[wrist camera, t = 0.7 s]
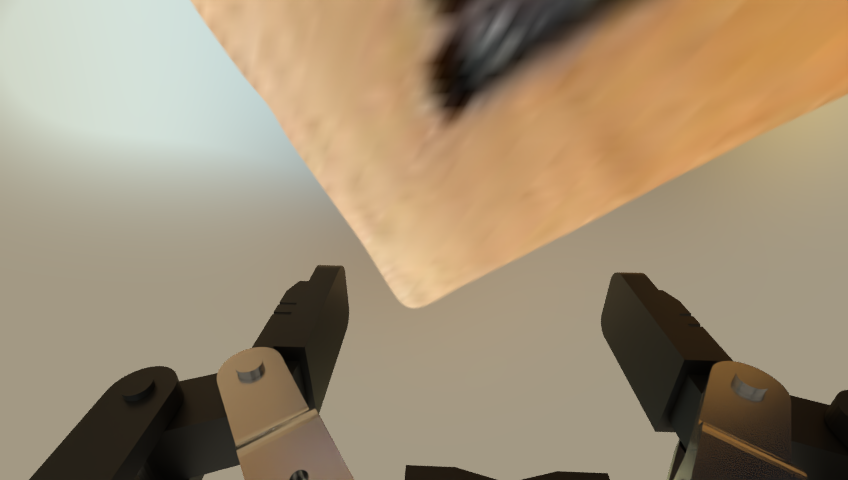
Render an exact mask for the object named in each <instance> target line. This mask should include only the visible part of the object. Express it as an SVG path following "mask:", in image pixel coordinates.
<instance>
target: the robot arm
mask: <svg viewBox="0 0 848 480" xmlns="http://www.w3.org/2000/svg"><path fill="white" fill-rule="evenodd" d="M348 320H349V304H348V295H347V286H346V277H345V270H344V267H343V266H330V265H329V266H328V265H327V266H326V265H318V266H317V267H316V269H315V271H314V273H313V275H312V276H311V278H310V280H309V281H299V282H298V283H297V284H295V285H294V286H292V287H291V288H290V289H289V290H287V291H286V293H285V295H284V296H283V298H282V299H281V301H280V305H278V306H277V308H276V309H275V311H274V314H273V315H272V316H271V317H270V319H269V321H268V322H267V324H266V326H265V327H264V329H263V331H262V332H261V334H260V335H259V337H258V339H257V340H256V342H255V343H254V345H253V347H252V348H250V349H246V350H243V351H241V352H239V353H237V354H235V355H233V356H232V357H230V358H229V359H228V360H227V361H226V362H224V364H223V365H222V366H221V368H220V369H219V371H218V373H216V374H212V375H208V376H203V377H198V378H193V379H189V380H184V381H179V380H178V377H177V375H176V373H175V372H174V371H173V370H172V369H170V368H168V367H164V366H155V367H148V368H144V369H141V370H138V371H135V372H133V373H131V374H129V375H127V376H125V377H124V378H121V379H120V380H119V381H117V382H116V383H114V384H113V385H112V386H111V387H110V388H109V389H108V390H107V391H106V392H105V393H104V394H103V395H102V397H101V398H100V399H99V400H98V401H97V402H96V404H95V405H94V406H93V407H92V408H91V409H90V410H89V412H88V413H87V414H86V415H85V416H84V417H83V419H82V420H81V421H80V422H79V423H78V424H77V425H76V427H75V428H74V429H73V430H72V431H71V432H70V433H69V435H68V436H67V437H66V438H65V439H64V440H63V441H62V443H61V444H60V445H59V446H58V447H57V448H56V450H55V451H54V452H53V453H52V454H51V455H50V456H49V457H48V459H47V460H46V461H45V462H44V463H43V464H42V466H41V467H40V468H39V469H38V470H37V471H36V473H35V474H34V475H33V476H32V477H31V478H30V479H29V480H202V478H203V476H204V474H207V473H211V472H215V471H218V470H222V469H226V468H229V467H233V466H237V465H241V469H242V472H243V476H244V479H245V480H354V479H353V476H352V475H351V473H350V471H349V469H348V467H347V465H346V464H345V462H344V460H343V458H342V456H341V454H340V452H339V451H338V449H337V447H336V445H335V443H334V441H333V439H332V438H331V436H330V434H329V432H328V430H327V428H326V427H325V425H324V423H323V421H322V419H321V417H320V415H319V412H320V409H321V406H322V403H323V400H324V397H325V394H326V391H327V388H328V385H329V382H330V378H331V375H332V372H333V369H334V366H335V363H336V360H337V357H338V354H339V351H340V348H341V345H342V341H343V339H344V336H345V332H346V330H347V326H348ZM601 326H602V332H603V335H604V337H605V339H606V341H607V343H608V344H609V346H610V348H611V350H612V352H613V353H614V356H615V357H616V359H617V361H618V363H619V365H620V367H621V369H622V370H623V372H624V374H625V376H626V378H627V380H628V381H629V383H630V385H631V387H632V389H633V391H634V393H635V394H636V396H637V398H638V400H639V402H640V404H641V406H642V408H643V409H644V411H645V413H646V415H647V417H648V419H649V421H650V422H651V424H652V426H653V428H654V430H655V431H656V432H676V434H677V436H678V437H679V441H678V444H677V446H676V448H675V451H674V455H673V459H672V462H671V465H670V469H669V472H668V476H667V480H848V390H844V391H841V392H839V393H838V394H837V396H836V397H835V399H834V400H833V402H832V403H831V405H827V404H822V403H818V402H815V401H810V400H807V399H802V398H799V397H795V396H791V395H789V393H788V392H787V390H786V389H785V387H784V386H783V385H782V384H781V383H779V382H778V381H777V380H776V379H775V378H773V377H772V376H770V375H769V374H767V373H765V372H764V371H762V370H760V369H758V368H755V367H753V366H750V365H747V364H744V363H740V362H734V361H733V360H732V359H731V358H730V357H729V356H728V355H727V354H726V352H724V350H723V349H722V348H721V347H720V346H719V345H718V344H717V342H716V341H715V340H714V339H713V338H712V337H711V336H710V335H709V333H708V332H707V331H706V330H705V329H704V328H703V327H700V324H699V322H698V321H697V320H696V319H695V318H694V317H693V316H691V313H690V312H689V311H688V310H687V309H686V308H685V307H684V306H683V305H682V303H681V302H680V301H678V300H677V299H675V298H674V297H672V296H671V295H669V294H668V293H666V292H664V291H663V290H658V289H657V288H656V287H655V285H654V284H653V283H652V282H651V281H650V279H649V278H648V277H647V276H646V275H645V274H643V273H614V274H613V276H612V278H611V281H610V285H609V289H608V292H607V296H606V300H605V304H604V308H603V312H602V316H601ZM405 480H496V479H493V478H489V477H486V476H482V475H479V474H476V473H472V472H469V471H466V470H462V469H459V468H456V467H435V466H411V465H406V471H405ZM523 480H610V479H609V476H608V474H607V473H584V472H560V471H557V472H553V473H548V474H544V475H540V476H536V477H532V478H527V479H523Z"/></svg>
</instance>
